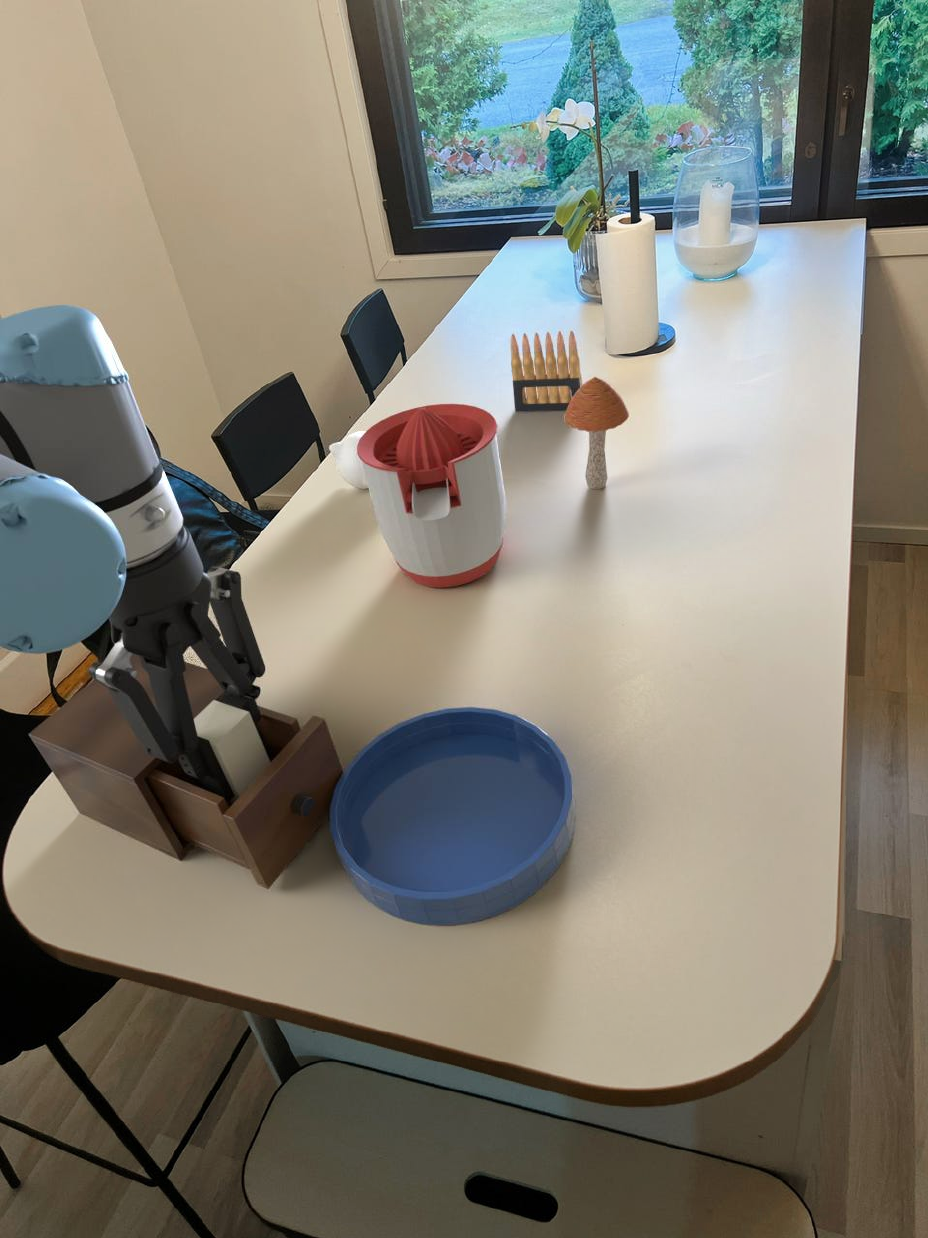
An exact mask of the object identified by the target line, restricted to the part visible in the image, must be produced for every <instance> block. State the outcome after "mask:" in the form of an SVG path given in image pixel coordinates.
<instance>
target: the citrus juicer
mask: <svg viewBox="0 0 928 1238" xmlns="http://www.w3.org/2000/svg"><path fill="white" fill-rule="evenodd" d="M497 432H498V424H497V420H496V419H495V417H494V416H493V415H492V414H491V413H490V412H488V411H487V410H485V409H484V408H480V407H478V406H474V405H469V404H460V403H437V404H428V405H424V406H418V407H414V408H410V409H407V410H406V409H405V410H402V411H400V412H397V413H395V414H392V415H390V416H388V417H386V418H384V419H381V420H380V421H378V422H377V423H375V424H373V425H371V426H370V427H369V428H368V429H367V430H366V431H365V433H364V434H363V435H362V437H361V438H360V440H359V442H358V445H357V454H358V456H359V458H360V459H361V460H362V464H363V468H364V471H365V475H366V479H367V483H368V487H369V488H368V491H369V494H370V498H371V502H372V507H373V509H374V511H373V512H374V515H375V518H376V521H377V524H378V528H379V530H380V534H381V535H382V537H383V539H384V541H385V544H386V545H387V548H388V550H389V552H390V553H391V555H392V557H393V558H394V560H395V562H396V564H397V565H398V567H399V568H400V569H401V571H402V572H403V573H404V574H405V575H406V576H407V577H408V579H410V580H411V581H413V583H416V584H418V585H421V586H423V587H430V588H450V587H451V588H452V587H456V586H462V585H465V584H468V583H471V582H473V581H475V580H478V579H479V578H482V577H483V576H484V575H486V574H488V573H489V572H490V571H491V570H492V569H493V568H494V566H495V565H496V564H497V561H498V559H499V557H500V554H501V551H502V547H503V544H504V533H505V525H506V509H507V508H506V507H507V505H506V495H505V488H504V479H503V473H502V465H501V460H500V453H499V446H498V439H497Z"/></svg>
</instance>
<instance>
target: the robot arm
mask: <svg viewBox="0 0 928 1238" xmlns="http://www.w3.org/2000/svg"><path fill="white" fill-rule="evenodd" d="M129 381H130V377H129V374H128V372H127V371H126V370H125V368H124V366H123V364H122V362H121V359H120V358H119V355H118V353H117V351H116V349H115V347H114V345H113V342H112V340H111V338H110V337H109V336H108V334H107V332H106V331H105V328H104V326H103V325H102V322H101V321H100V319H99V318H98V317H97V315H95V314H94V313H93V312H92V311H90V310H88V309H86V308H83V307H81V306H75V305H70V304H58V305H56V304H55V305H54V304H53V305H47V306H42V307H36V308H31V309H27V310H24V311H20V312H17V313H13V314H11V315H8V316H6V317H2V318H0V647H1V648H3V649H5V650H7V651H11V652H16V653H23V654H33V655H41V654H51V653H55V652H59V651H62V650H65V649H68V648H71V647H73V646H75V645H76V644H78V643H81V642H82V641H84V640H85V639H87V638H88V637H90V636H91V635H92V634H94V633H95V632H96V631H97V630H99V629H100V627H102V625H103V624H105V622H106V621H108V620H109V623H110V637H111V638H110V639H111V641H112V643H113V646H112V648H111V650H110V651H109V653H108V654H107V656H106V657H105V659H104V661H103V662H101V661H94V662H93V663H91V665H89V667H88V671H87V673H88V676H89V677H90V678H91V679H92V680H95V681H97V682H98V683H100V684H101V685H103V686H104V687H106V688H107V689H108V691H109V692H110V694H111V696H112V697H113V699H114V701H115V702H116V704H117V706H118V707H119V709H120V711H121V712H122V714H123V715H124V717H125V719H126V720H127V722H128V724H129V725H130V727H131V729H132V730H133V732H134V734H135V735H136V737H137V739H138V740H139V742H140V744H141V745H142V747H143V749H144V750H145V752H146V753H147V754H149V755H151V756H154V757H156V758H159V759H161V760H164V761H166V762H169V763H174V762H176V761H177V760H179V762H180V764H181V766H182V768H183V770H184V772H185V773H186V774H188V775H189V776H192V777H194V778H197V779H199V781H200V783H201V785H202V787H203V789H204V790H207V791H209V792H212V793H214V794H217V795H219V796H221V797H224V799H225V801H227V802H230V800H231V799H232V798H233V797H234V796H235V795H234V793H233V791H232V789H231V787H230V785H229V783H228V781H227V778H226V776H225V774H224V772H223V770H222V768H221V766H220V764H219V762H218V759H217V757H216V755H215V753H214V751H213V749H212V747H211V745H210V742H209V740H207V739H204V738H201V737H199V736H197V731H196V727H195V723H194V719H193V714H192V710H191V706H190V702H189V697H188V693H187V689H186V685H185V680H184V676H183V672H185V671H186V666H185V662H186V661H185V658H184V654H185V653H186V652H187V650H188V649H189V648H191V649H192V651H193V652H194V654H196V656H197V657H198V658H199V660H200V661H201V662H202V664H203V666H204V667H205V668H206V669H208V670H209V671H210V673H211V674H212V675H213V677H214V678H215V679H216V681H217V682H218V683H219V685H220V686H221V687H222V689H223V690H225V691H228V694H229V695H228V694H225V693H224V694H223V695H222V696H221V697H220V698H219V699H218V700H219V702H221V703H224V704H227V705H230V706H233V707H236V708H239V709H242V710H245V711H248V712H249V713H250V715H251V718H252V720H253V722H254V725H255V727H256V729H257V732H258V734H259V737H260V739H261V741H262V744H263V746H264V748H265V751H266V753H267V756H268V758H270V757H271V755H270V752H269V750H268V748H267V745H266V743H265V740H264V738H263V736H262V733H261V731H260V728H259V726H258V724H257V722H258V721H259V720H260V719H261V713H260V710H259V708H258V706H259V705H258V703H257V701H256V700H258V698H259V697H260V696H261V693H262V690H261V687H260V686H258V685H255V684H254V682H255V681H256V679H257V678H262V677H263V676H264V675H265V673H266V665H265V662H264V659H263V655H262V653H261V650H260V647H259V644H258V641H257V638H256V635H255V633H254V630H253V627H252V625H251V621H250V618H249V616H248V612H247V610H246V606H245V603H244V600H243V598H242V597H243V596H242V595H243V594H242V575H241V574H240V572H239V571H235V570H232V569H227V568H223V567H219V566H215V565H213V566H210V567H209V569H208V570H207V572H204V565H203V562H202V559H201V557H200V554H199V552H198V549H197V547H196V545H195V542H194V540H193V538H192V535H191V532H190V530H189V528H188V527H187V526H186V525H184V517H183V513H182V511H181V509H180V507H179V505H178V502H177V500H176V497H175V494H174V492H173V489H172V487H171V484H170V482H169V479H168V477H167V475H166V473H165V470H164V467H163V465H162V463H161V461H160V458H159V457H158V455H157V452H156V450H155V447H154V444H153V441H152V440H151V436H150V433H149V432H148V429H147V426H146V423H145V421H144V419H143V418H144V417H143V416H142V413H141V410H140V408H139V405H138V403H137V400H136V398H135V394H134V392H133V389H132V387H131V385H130V384H131V383H130V382H129ZM210 607H211V610H212V613H213V615H214V618H215V620H216V623H217V626H218V628H217V627H216V626H215V624H214V622H213V621H212V620H211V618H210V617H209V608H210ZM218 629H219V630H218ZM221 637H222V639H221ZM222 640H223V641H222ZM132 654H136V655H139V657H140V661H141V665H142V667H143V669H144V670H145V671H146V672H147V673H148V676H149V680H150V684H151V688H152V691H153V695H154V699H155V703H156V707H157V710H156V708H155V707H154V705H153V703H152V701H151V700H150V698H149V696H148V694H147V693H146V691H145V689H144V688H143V686H142V685H141V684H140V683H139V681H137V680H136V679H135V678H136V677H137V671H136V670H134V667H133V665H132V664H131V656H132ZM157 711H158V712H157Z"/></svg>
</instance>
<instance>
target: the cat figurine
mask: <svg viewBox="0 0 928 1238" xmlns="http://www.w3.org/2000/svg"><path fill="white" fill-rule="evenodd" d="M365 432H366V431H363V430H361V431H356V432H353V433H350V434H349V435H348V436H346V437H345V438H344V439H343V440H342V441H338V442H334V443H331V444H330V445H329V446H328V449H329V451H330V453H331V454H332V455H333V457H334V463H335V464H334V465H335V467H336V470H337V472H338V475H340V477H341V478H342V479H343V480H344V481H345V482H346V483H347V484H348V485H351V486H352V487H354V488H356V489H363V490H366V489H369V487H368V483H367V479H366V475H365V471H364V468H363V464H362V460H361V459H360V458H359V456H358V454H357V445H358V442H359V440H360V438H361V437H362V435H363V434H364V433H365Z"/></svg>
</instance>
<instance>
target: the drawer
mask: <svg viewBox="0 0 928 1238" xmlns="http://www.w3.org/2000/svg"><path fill="white" fill-rule="evenodd" d="M258 708H259V710H260V713H261V719H260V720H259V721H258V722H257V724H258V726H259V728H260V731H261V733H262V736H263V738H264V740H265V743H266V745H267V748H268V750H269V752H270V755H271V757H270V758H269V760H270V764H269V765H268V766H267V767H266V768H265V769H264V770H263V772H262V773H261V774H260V775H259V776H258V777H257V778H256V779H255V780H254V781H253V783H252V784H251V785H250V786H249V787H248V788H247V789H246V790H245V791H244V792H243V793H242V795H241V796H240V797H239V798H238V799H237V800H236V801H235V802H234V803H232V802H227V801H225V799H224V797H221V796H219V795H217V794H214V793H212V792H209V791H207V790H204V789H203V787H202V785H201V783H200V781H199V779H197V778H194V777H192V776H189V775H188V774H186V773H185V772H184V770H183V768H182V766H181V764H180V762H179V760H177V761H176V762H174V763H169V762H166V761H164V760H163V761H162V762H161V763H160V764H159V765H158V766H157V767H156V768H155V769H154V770H153V771H152V772H151V773H150V774H148V775H147V776H146V777H145V778H144V779H145V781H146V783H147V785H148V786H149V788H150V790H151V792H152V794H153V795H154V797H155V799H156V801H157V802H158V804H159V806H160V808H161V810H162V811H163V813H164V815H165V817H166V818H167V820H168V822H169V824H170V825H171V827H172V829H173V831H174V833H175V834H176V836H177V837H179V838H181V839H183V840H185V841H188V842H190V843H192V844H194V845H195V846H196V847H198V848H201V849H203V850H204V851H207V852H210V853H212V854H213V855H216V856H218V857H221V858H223V859H225V860H227V861H229V862H231V863H233V864H236V865H238V866H240V867H242V868H244V869H247V870H249V871H250V872H251V874H252V875H253V879H254V881H255V882H256V884H257V886H259V887H262V888H265V889H266V890H269V889H270V888H271V887H272V886H273V884H274V883H275V882H276V881H277V879H278V878H279V877H280V876H281V874H283V872H284V871H285V869H286V868H287V867H288V866H289V864H290V863H291V862H292V861H293V860H294V858H295V857H296V856H297V855H298V853H299V852H300V851H301V849H302V848H303V847H304V846H305V845H306V844H307V842H308V841H309V840H310V838H311V837H312V836H313V835H314V834H315V832H316V831H317V830H318V829H319V827H320V826H321V825H322V824H323V823H324V821H325V820H326V819H327V817H328V816H330V806H331V802H332V798H333V794H334V790H335V787H336V785H337V783H338V781H339V779H340V777H341V775H342V774H343V772H344V769H343V766H342V764H341V761H340V758H339V755H338V752H337V750H336V746H335V744H334V741H333V739H332V736H331V732H330V730H329V727H328V724H327V721H326V719H325V718H323V717H321V716H318V715H312V717H311V718H310V719H309V720H307V722H306V723H305V724H304V725H303V726H302V728H301V725H300V723H299V720H298V718H296V717H294V716H290V715H287V714H284V713H281V712H278V711H275V710H272V709H269V708H267V707H263V706H260V705H258Z"/></svg>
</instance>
